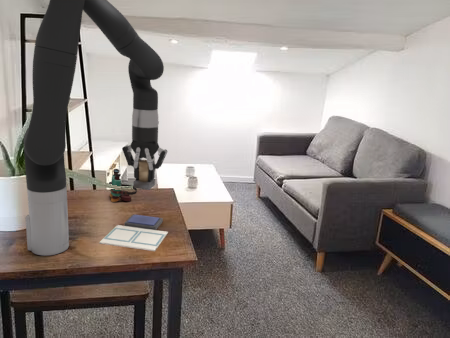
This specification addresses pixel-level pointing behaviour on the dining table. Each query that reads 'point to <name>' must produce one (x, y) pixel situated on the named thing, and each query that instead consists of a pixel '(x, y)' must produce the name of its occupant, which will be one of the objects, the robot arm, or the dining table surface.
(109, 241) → the form board
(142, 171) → the stamp
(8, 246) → the dining table surface
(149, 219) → the ink pad
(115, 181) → the binoculars
